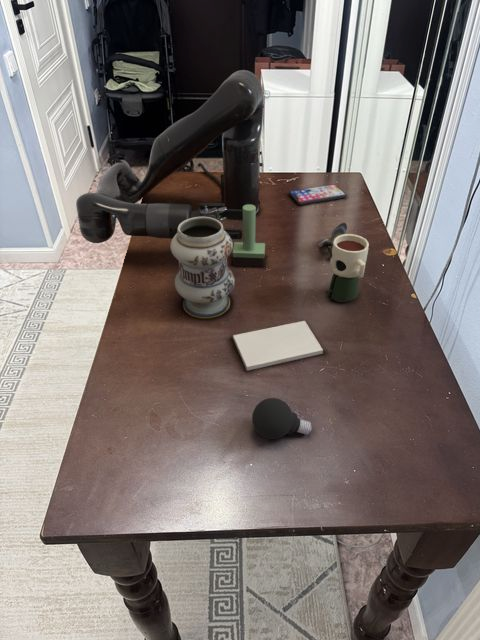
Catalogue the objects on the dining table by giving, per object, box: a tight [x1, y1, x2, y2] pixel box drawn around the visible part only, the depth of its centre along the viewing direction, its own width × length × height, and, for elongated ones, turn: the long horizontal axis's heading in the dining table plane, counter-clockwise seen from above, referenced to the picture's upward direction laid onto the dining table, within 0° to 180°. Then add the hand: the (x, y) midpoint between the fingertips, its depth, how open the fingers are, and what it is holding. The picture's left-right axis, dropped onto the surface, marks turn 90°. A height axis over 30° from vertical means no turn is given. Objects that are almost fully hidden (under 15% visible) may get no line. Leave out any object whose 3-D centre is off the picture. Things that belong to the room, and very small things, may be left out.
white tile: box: [232, 320, 324, 372], centre depth 94 cm, size 15×9×1 cm, turn 109°
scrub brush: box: [232, 204, 266, 268], centre depth 111 cm, size 7×5×14 cm, turn 88°
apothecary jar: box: [170, 217, 236, 319], centre depth 97 cm, size 12×12×18 cm
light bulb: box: [251, 397, 312, 440], centre depth 78 cm, size 6×6×10 cm
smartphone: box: [288, 183, 347, 206], centre depth 140 cm, size 8×1×15 cm
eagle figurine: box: [317, 222, 348, 261], centre depth 117 cm, size 8×7×9 cm
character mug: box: [328, 233, 370, 303], centre depth 102 cm, size 11×7×13 cm, turn 23°
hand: (243, 224), depth 109 cm, fingers open, 8 cm apart
